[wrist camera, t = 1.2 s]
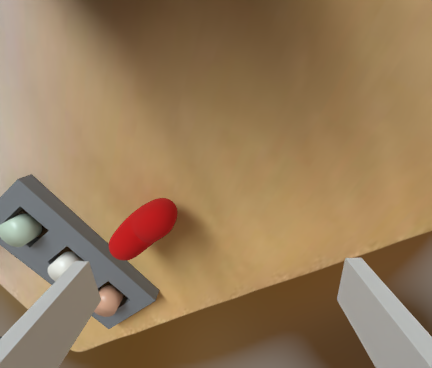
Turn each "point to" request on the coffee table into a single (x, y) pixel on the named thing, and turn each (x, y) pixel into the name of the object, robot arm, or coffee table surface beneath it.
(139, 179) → the coffee table surface
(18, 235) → the sage button
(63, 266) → the cream button
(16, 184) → the panel
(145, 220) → the heart
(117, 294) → the peach button
